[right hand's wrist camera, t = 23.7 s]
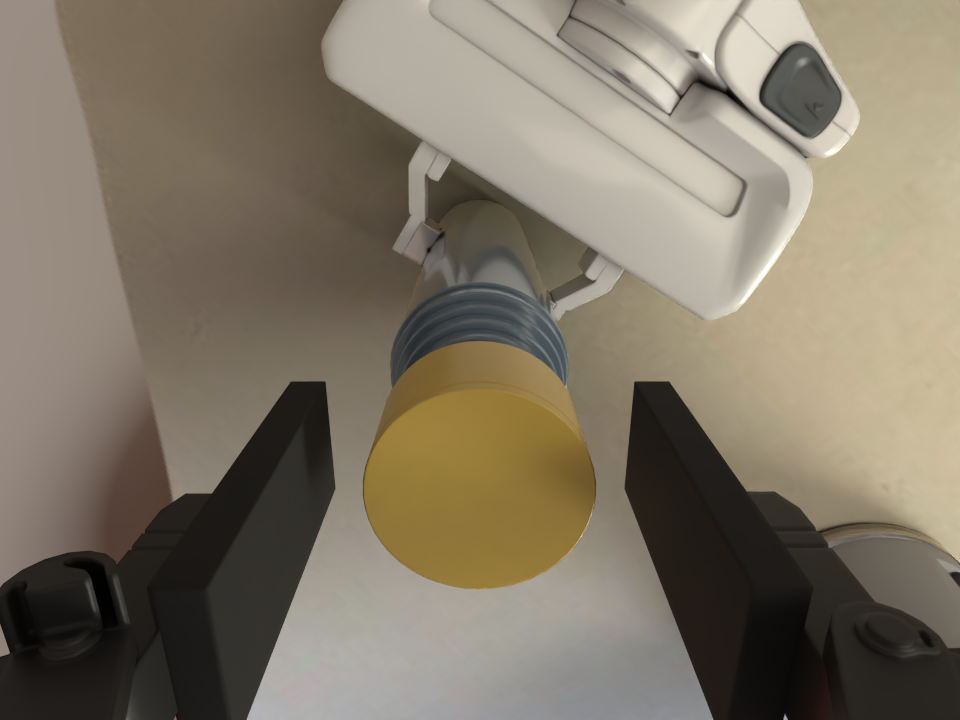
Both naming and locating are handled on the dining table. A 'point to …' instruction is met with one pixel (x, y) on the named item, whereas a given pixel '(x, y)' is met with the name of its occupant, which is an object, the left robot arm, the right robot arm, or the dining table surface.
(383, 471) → the cap
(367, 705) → the dining table surface
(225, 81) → the dining table surface
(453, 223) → the bottle
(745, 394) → the dining table surface
